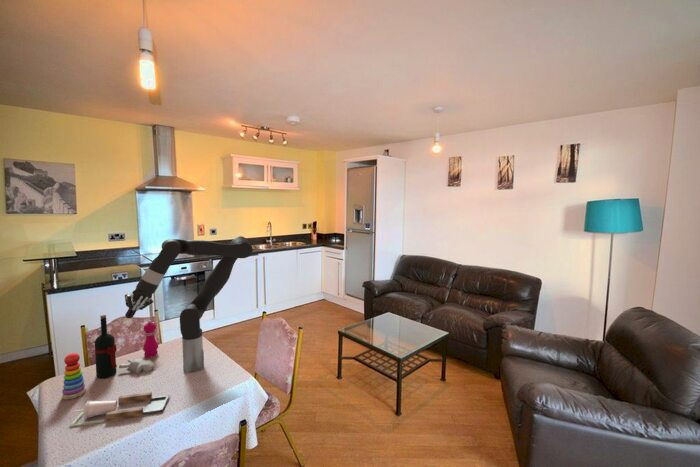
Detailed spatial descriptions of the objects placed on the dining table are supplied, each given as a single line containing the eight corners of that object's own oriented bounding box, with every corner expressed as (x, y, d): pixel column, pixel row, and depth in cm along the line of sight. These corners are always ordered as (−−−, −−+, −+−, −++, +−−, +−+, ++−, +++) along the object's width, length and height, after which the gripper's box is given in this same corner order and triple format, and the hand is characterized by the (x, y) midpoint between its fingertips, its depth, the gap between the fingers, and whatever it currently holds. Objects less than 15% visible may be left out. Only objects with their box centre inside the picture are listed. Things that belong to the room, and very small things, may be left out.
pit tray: (169, 397, 137) (169, 395, 137) (162, 412, 127) (162, 409, 127) (151, 400, 135) (151, 397, 135) (142, 415, 125) (142, 412, 125)
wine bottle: (107, 381, 149) (104, 320, 146) (92, 377, 152) (88, 317, 149) (123, 372, 156) (120, 314, 153) (108, 369, 159) (105, 312, 156)
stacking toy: (90, 391, 140) (88, 351, 139) (69, 402, 133) (66, 359, 131) (78, 387, 143) (76, 348, 141) (57, 398, 135) (54, 356, 134)
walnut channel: (152, 398, 136) (151, 392, 136) (141, 416, 125) (141, 409, 124) (120, 402, 133) (119, 396, 133) (106, 421, 121) (106, 414, 121)
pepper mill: (142, 359, 170) (140, 323, 168) (144, 353, 176) (142, 319, 174) (158, 356, 173) (156, 321, 171) (159, 350, 179) (157, 317, 178)
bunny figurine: (145, 368, 154) (117, 363, 154) (145, 377, 154) (116, 372, 155) (158, 358, 163) (131, 353, 164) (158, 367, 164) (130, 363, 164)
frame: (117, 403, 133) (117, 401, 133) (103, 422, 121) (103, 420, 121) (86, 407, 130) (86, 405, 130) (69, 427, 118) (69, 425, 118)
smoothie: (112, 415, 123) (67, 421, 118) (116, 414, 128) (73, 420, 123) (115, 396, 126) (71, 402, 120) (119, 396, 131) (77, 402, 126)
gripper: (142, 280, 129) (118, 319, 126) (168, 287, 141) (146, 322, 138) (132, 273, 132) (108, 311, 129) (158, 280, 144) (136, 315, 141)
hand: (128, 317), depth 133 cm, fingers closed
